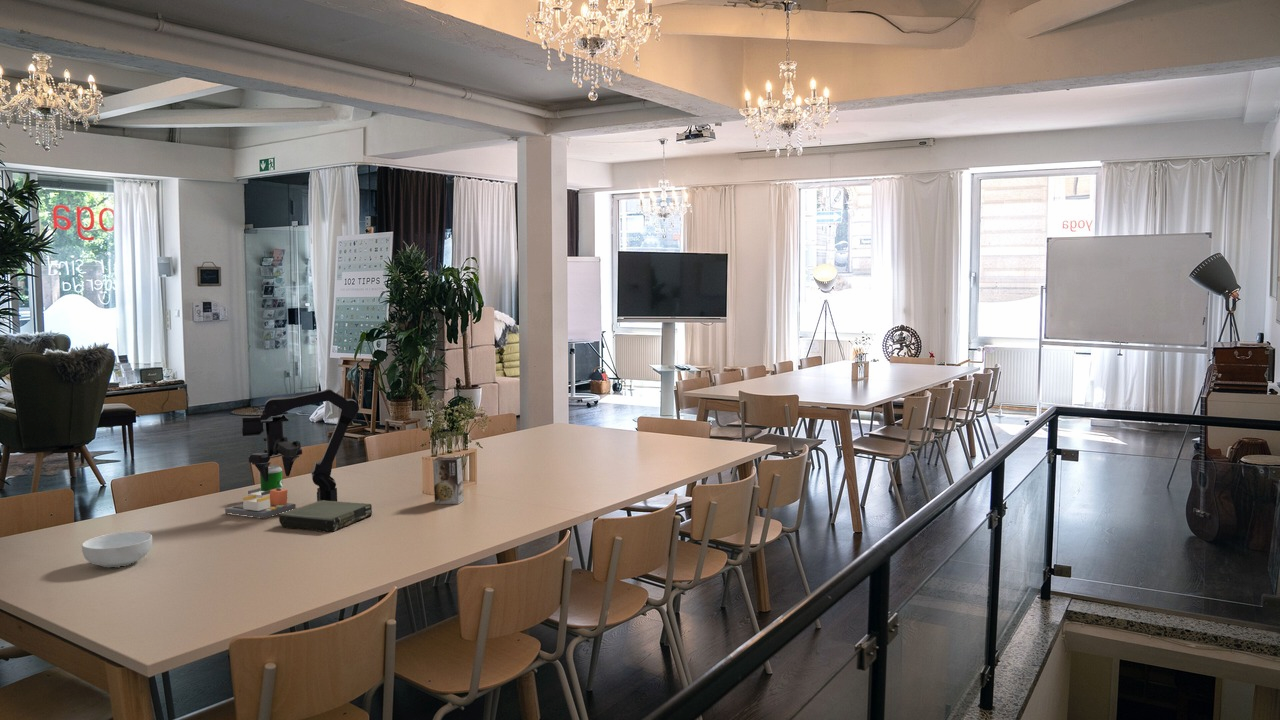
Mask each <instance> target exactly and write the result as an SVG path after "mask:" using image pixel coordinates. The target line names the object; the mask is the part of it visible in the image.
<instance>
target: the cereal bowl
mask: <svg viewBox="0 0 1280 720" xmlns="http://www.w3.org/2000/svg"><path fill="white" fill-rule="evenodd" d="M152 546H153V535H152V534H151V533H149V532H145V531H121V532H112V533H108V534H103V535H99V536H95V537H92V538H89V539H87V540H85V541H83V542H82V545H81V549H82V550H81V553H82V555H83V557H84V559H85V560H86V561H87V562H88V563H90V564H93V565H96V566H102V567H103V568H105V567H118V568H121V567H120V566H124V567H127V566H130V565H132V564H131V563H133V564H134V563H135V562H136V561H138V560H141V559H142V558H144V557H145V556H147V555H148V554H149V553H150V551H151V549H152ZM129 564H130V565H129ZM126 565H127V566H126Z"/></svg>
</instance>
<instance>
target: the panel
mask: <svg viewBox="0 0 1280 720" xmlns="http://www.w3.org/2000/svg"><path fill="white" fill-rule="evenodd" d="M292 509H296V503H291V502H287V504H284V505H277V506H275V505H271V504H270V508H267V509H263V510H260V511H255V510H247V509H244V507H243V503H240V504H236V505H232V506H229V507H225V508H224V512H225V513H232V514H239V515H247V516H253V517H260V518H265V519H267V518H266V517H269V516H272V515H275V516H277V515H276V514H279V513H282V512H286V511H289V510H292ZM279 515H280V514H279ZM272 517H273V516H272ZM260 518H259V519H260ZM269 518H270V517H269Z"/></svg>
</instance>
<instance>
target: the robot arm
mask: <svg viewBox="0 0 1280 720" xmlns="http://www.w3.org/2000/svg"><path fill="white" fill-rule="evenodd" d="M324 402H329V403H331V404H333V405H334V406H336V407H337V408H339V413H338V418H337V423H336V425H335V427H334V430H333V432H332V434H331V437H330V439H329V442H328V444H327V446H326V449H325V450H324V453H323V456H322V457H321V459H320V460H319V461H317V460H314V465H313V467H312V469H311V470H310V473H311V479H312V483H313V485H315V486H318V487H316V490H317V491H316V502H317V501H322V500H325V501H337V502H338V487H337V482H336V479H335V478H334V477H332V476H331V474H332V469H333V463H334V460H335V458H336V456H337V455H338V454H337V453H338V451H339V449H340V446H341V444H342V441H343V439H344V438H345V434H346V432H347V429H348V427H349V426H350V424H351V423H352V422H353V420H354V419H355V418H356V416H357V414H358V413H359V410H360V406H359V404H358V402H357V401H356V400H354V399H353V398H346V397H344V396H342V395H340V394H338V393H337V392H335V391H334V390H333V389H331V388H327V389H324V390H320V391H316V392H311V393H306V394H301V395H297V396H292V397H271V398H269V399H268V400H266V402H265V404H264V409H263V410H262V412H261V413H260V415H259V416H243V417H241V418H242V427H241V430H242V431H241V433H242V437H243V438H247V437H260V436H261V434H263V433H264V432H265V437H263V442H266V449H264V452H256V453H252V454H250V455H249V456H248V464H249V463H250V464H252V465H253V466H255V467H256V469H257V470H258V471H259V474H260V473H261V475H262V477H263V479H264V480H265V482H268V478H269V476H268V466H271V464H272V463H271V462H270V461H271V459H274V458H278V457H281V459H282V460H281V461H282V464H283V469H284V473H285V477H289V476H290V474H291V471H292V468H293V465H294V462H295V461H296V460H297V458H300V456H301V455H303V449H302V446H301V442H300V441H299V440H295V441H292V442H289V441H288V437H287V436H285V433H284V431H285V430H284V429H285V428H284V422H289V420H290V419H289V417H288V416H286V415H285V413H287V412H289V411H291V410H293V409H298V408H301V407H305V406H311V405H315V404H319V403H324ZM279 415H280V416H279ZM271 417H272V419H269V418H271ZM264 424H265V427H264ZM264 429H265V431H264Z"/></svg>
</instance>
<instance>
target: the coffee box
mask: <svg viewBox="0 0 1280 720" xmlns="http://www.w3.org/2000/svg"><path fill="white" fill-rule="evenodd" d="M432 466H433V467H432V469H433V470H432V472H433V487H434V488H433V490H434V491H433V492H434V494H433V495H434V496H433V497H434V504H435V505H460V503H461V502H463V501H464V482H463V481H464V478H463V477H464V476H463V456H437V457H435V458H434V459H432Z"/></svg>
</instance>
